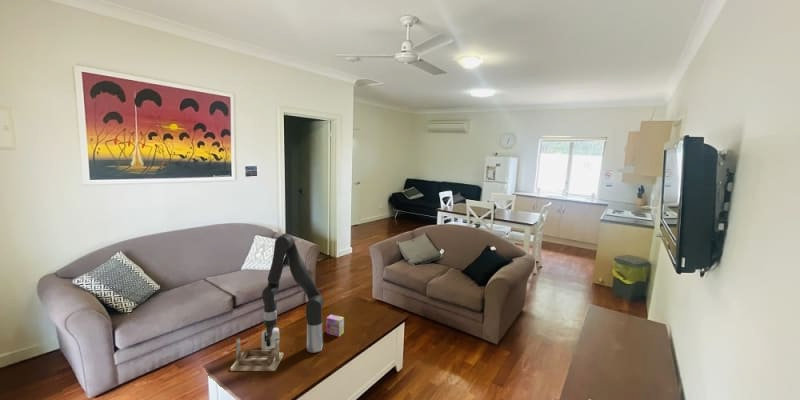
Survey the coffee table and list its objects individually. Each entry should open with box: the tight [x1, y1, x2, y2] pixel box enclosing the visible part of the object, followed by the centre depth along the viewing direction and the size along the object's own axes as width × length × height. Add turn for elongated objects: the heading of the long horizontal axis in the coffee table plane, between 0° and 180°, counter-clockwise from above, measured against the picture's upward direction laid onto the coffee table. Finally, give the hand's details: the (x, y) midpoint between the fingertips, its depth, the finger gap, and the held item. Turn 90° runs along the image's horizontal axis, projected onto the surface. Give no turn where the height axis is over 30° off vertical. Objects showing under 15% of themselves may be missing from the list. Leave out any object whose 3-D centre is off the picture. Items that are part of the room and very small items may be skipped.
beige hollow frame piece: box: [230, 337, 284, 372], centre depth 185 cm, size 24×15×14 cm, turn 93°
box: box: [325, 314, 345, 338], centre depth 219 cm, size 10×6×12 cm, turn 68°
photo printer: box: [261, 327, 280, 350], centre depth 200 cm, size 10×4×12 cm, turn 123°
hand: (270, 343), depth 200 cm, fingers closed on photo printer, 6 cm apart
